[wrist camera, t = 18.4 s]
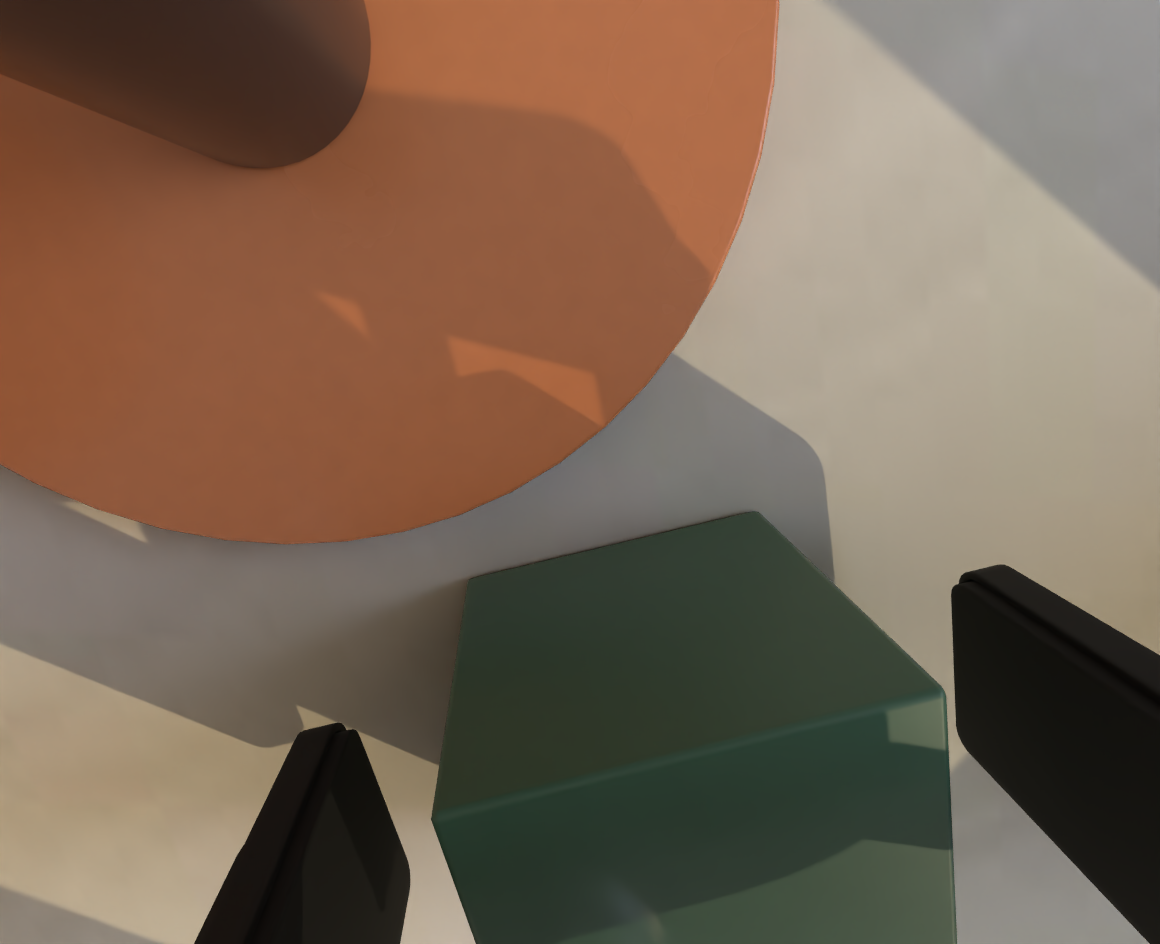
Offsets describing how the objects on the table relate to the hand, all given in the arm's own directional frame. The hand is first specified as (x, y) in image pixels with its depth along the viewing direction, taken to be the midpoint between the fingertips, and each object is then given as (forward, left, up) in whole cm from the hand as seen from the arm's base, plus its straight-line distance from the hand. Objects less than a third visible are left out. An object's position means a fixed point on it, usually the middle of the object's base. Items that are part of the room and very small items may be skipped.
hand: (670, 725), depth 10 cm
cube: (0, 0, -2) cm, 2 cm away
